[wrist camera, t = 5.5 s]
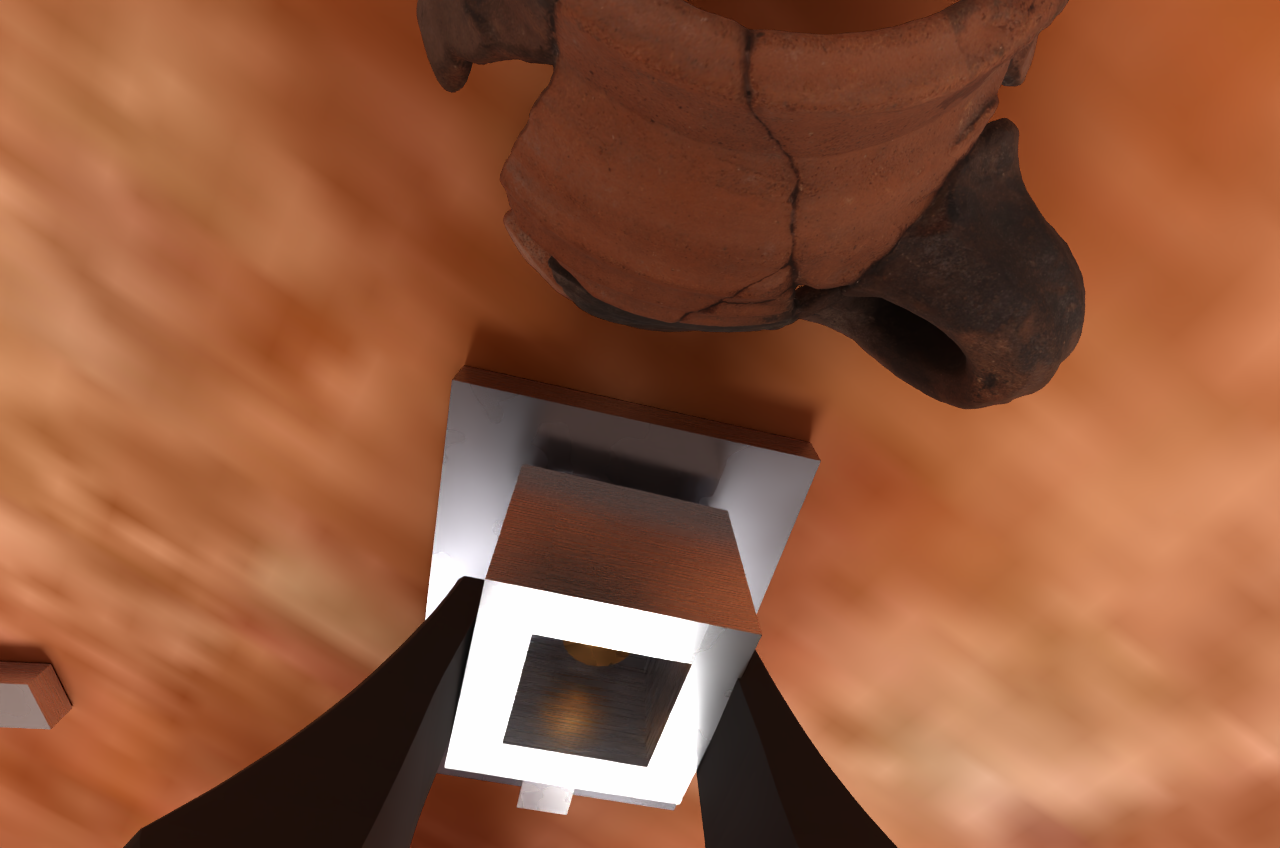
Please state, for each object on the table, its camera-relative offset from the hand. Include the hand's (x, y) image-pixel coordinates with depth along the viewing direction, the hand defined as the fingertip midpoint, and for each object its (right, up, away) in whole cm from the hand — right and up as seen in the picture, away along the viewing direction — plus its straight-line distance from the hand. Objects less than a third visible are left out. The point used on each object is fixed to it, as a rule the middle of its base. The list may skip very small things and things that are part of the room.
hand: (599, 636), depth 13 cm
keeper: (-1, -1, +5) cm, 5 cm away
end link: (0, +1, +2) cm, 2 cm away
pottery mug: (+3, +11, 0) cm, 11 cm away
